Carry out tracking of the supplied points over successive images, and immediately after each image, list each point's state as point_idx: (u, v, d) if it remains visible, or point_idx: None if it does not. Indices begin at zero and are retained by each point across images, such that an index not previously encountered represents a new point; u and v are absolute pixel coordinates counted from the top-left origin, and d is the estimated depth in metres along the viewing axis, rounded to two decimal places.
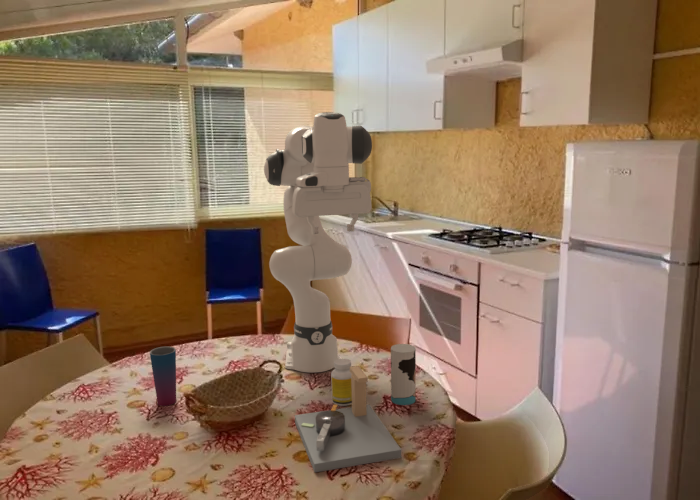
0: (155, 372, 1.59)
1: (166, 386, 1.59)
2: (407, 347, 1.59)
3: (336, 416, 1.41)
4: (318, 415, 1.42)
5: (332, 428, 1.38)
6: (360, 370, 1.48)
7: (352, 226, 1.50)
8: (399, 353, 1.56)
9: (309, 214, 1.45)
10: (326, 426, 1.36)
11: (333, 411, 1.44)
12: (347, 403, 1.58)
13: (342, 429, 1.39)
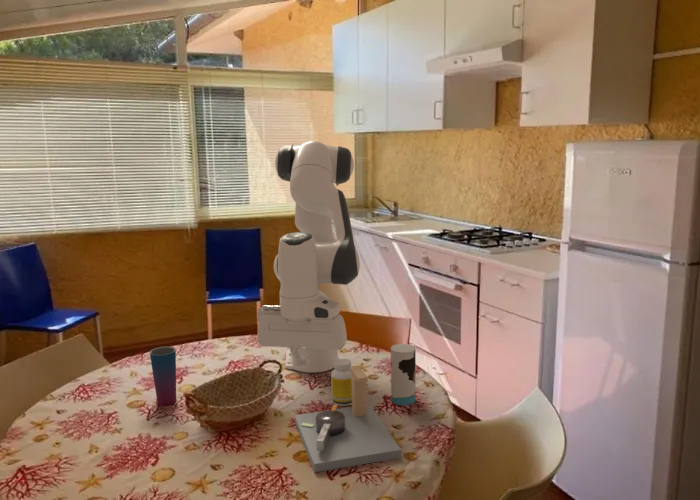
0: (155, 372, 1.59)
1: (166, 386, 1.59)
2: (407, 347, 1.59)
3: (336, 416, 1.41)
4: (318, 415, 1.42)
5: (332, 428, 1.38)
6: (360, 370, 1.48)
7: None
8: (399, 353, 1.56)
9: None
10: (326, 426, 1.36)
11: (333, 411, 1.44)
12: (347, 403, 1.58)
13: (342, 429, 1.39)
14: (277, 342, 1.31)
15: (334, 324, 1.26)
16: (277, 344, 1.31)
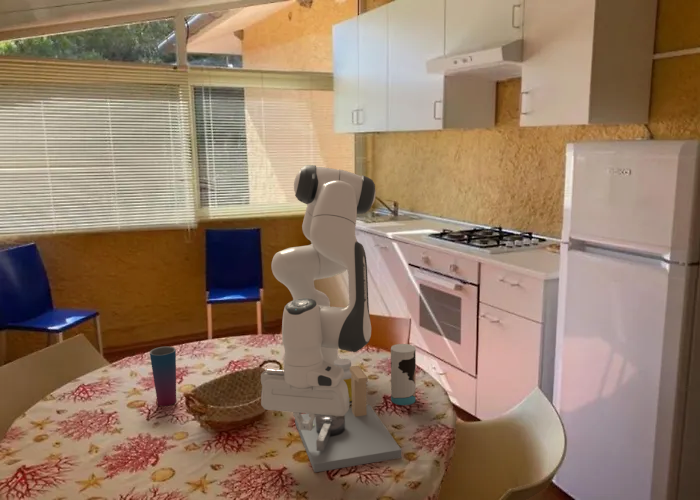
0: (155, 372, 1.59)
1: (166, 386, 1.59)
2: (407, 347, 1.59)
3: (336, 416, 1.41)
4: (318, 415, 1.42)
5: (332, 428, 1.38)
6: (360, 370, 1.48)
7: None
8: (399, 353, 1.56)
9: None
10: (326, 426, 1.36)
11: None
12: None
13: (342, 429, 1.39)
14: (280, 406, 1.32)
15: (337, 392, 1.27)
16: (280, 408, 1.32)
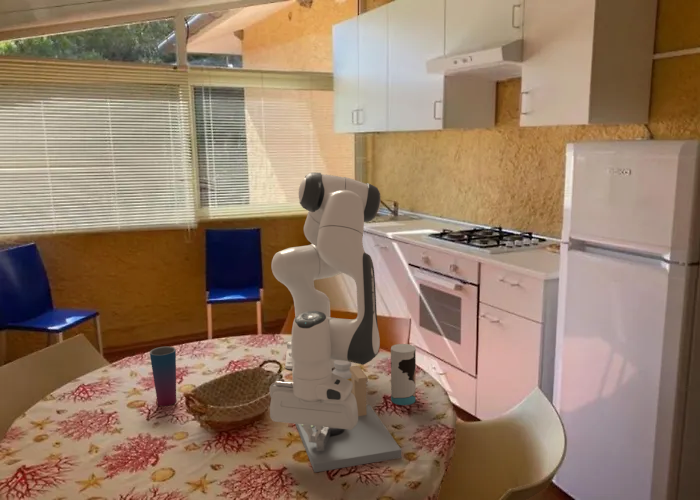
0: (155, 372, 1.59)
1: (166, 386, 1.59)
2: (407, 347, 1.59)
3: None
4: None
5: (332, 428, 1.38)
6: (360, 370, 1.48)
7: None
8: (399, 353, 1.56)
9: None
10: None
11: None
12: None
13: (342, 429, 1.39)
14: (289, 419, 1.32)
15: (346, 406, 1.27)
16: (289, 420, 1.32)
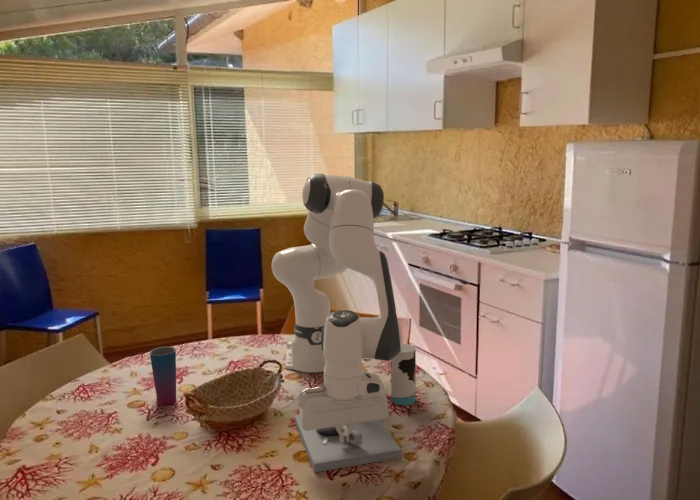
0: (155, 372, 1.59)
1: (166, 386, 1.59)
2: (407, 347, 1.59)
3: None
4: None
5: None
6: None
7: None
8: (399, 353, 1.56)
9: None
10: None
11: None
12: None
13: None
14: (323, 424, 1.29)
15: (383, 396, 1.31)
16: (323, 426, 1.29)
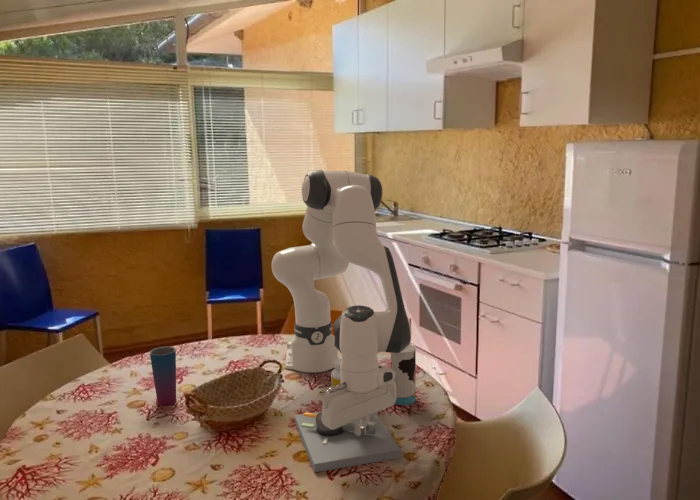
0: (155, 372, 1.59)
1: (166, 386, 1.59)
2: (407, 347, 1.59)
3: None
4: None
5: None
6: None
7: None
8: (399, 353, 1.56)
9: None
10: None
11: (319, 414, 1.42)
12: None
13: None
14: (347, 419, 1.31)
15: (393, 383, 1.38)
16: (347, 421, 1.31)
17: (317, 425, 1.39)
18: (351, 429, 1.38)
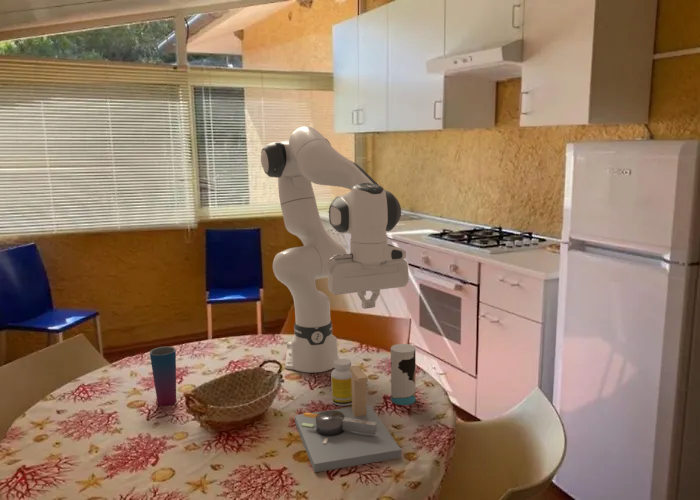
0: (155, 372, 1.59)
1: (166, 386, 1.59)
2: (407, 347, 1.59)
3: (331, 413, 1.42)
4: (323, 422, 1.38)
5: None
6: (360, 370, 1.48)
7: None
8: (399, 353, 1.56)
9: None
10: (348, 419, 1.39)
11: (319, 414, 1.42)
12: (347, 403, 1.58)
13: None
14: (351, 288, 1.38)
15: (404, 263, 1.41)
16: (351, 290, 1.38)
17: (317, 425, 1.39)
18: (351, 429, 1.38)
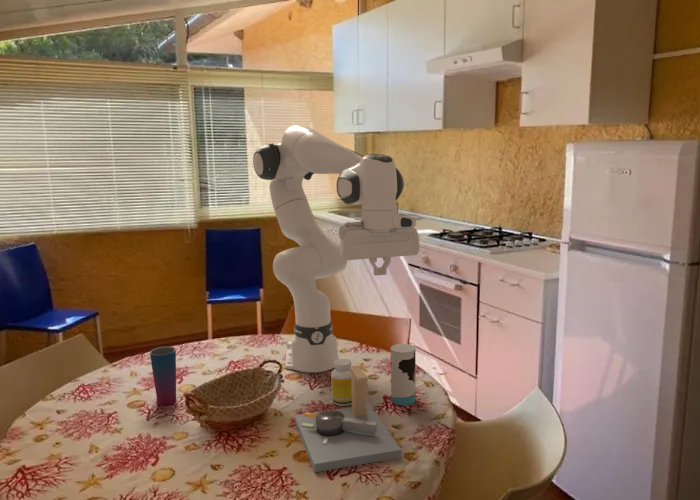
0: (155, 372, 1.59)
1: (166, 386, 1.59)
2: (407, 347, 1.59)
3: (331, 413, 1.42)
4: (323, 422, 1.38)
5: None
6: (360, 370, 1.48)
7: None
8: (399, 353, 1.56)
9: None
10: (348, 419, 1.39)
11: (319, 414, 1.42)
12: (347, 403, 1.58)
13: None
14: (362, 254, 1.43)
15: (415, 232, 1.46)
16: (362, 256, 1.44)
17: (317, 425, 1.39)
18: (351, 429, 1.38)
